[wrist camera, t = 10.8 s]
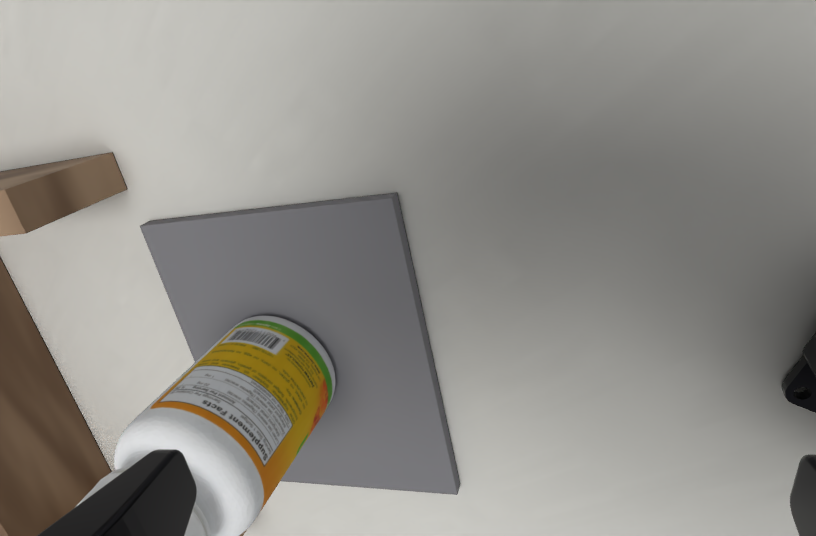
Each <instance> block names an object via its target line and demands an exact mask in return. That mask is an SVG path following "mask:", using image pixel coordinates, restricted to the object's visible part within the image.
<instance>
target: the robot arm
mask: <svg viewBox="0 0 816 536" xmlns="http://www.w3.org/2000/svg"><path fill="white" fill-rule="evenodd" d="M803 353H804V355H803V357H802V358H801V359H800V361H799V362H798V363H797V364H796V366H795V367H794V368H793V369H792V371H791V372H790V373H789V375H788V376H787V377H786V378H785V380H784V381H783V383H782V390H783V392H784V395H785V397H786V398H787V400H788V401H789V402H791V403H793V404H795V405H797V406H800V407H803V408H805V409H808V410H810V411H813V412H816V333H815V334H814V336H813V337H812V338H811V340H810V341H809V342H808V343H807V345H806V346H805V347H804V349H803ZM800 387H806V388H807V389H806V390H805V391H803V392H794V390H796V389H797V388H800ZM196 495H197V488H196V483H195V480H194V478H193V476H192V473H191V471H190V469H189V466H188V464H187V462H186V460H185V457H184V455H183V453H181V452H180V451H179V450H176V449H158V450H154V451H152V452H150V453H149V454H147V455H146V456H144V457H143V458H142V459H140V460H139V461H138V462H136V463H135V464H134V465H132V466H131V467H129V468H128V469H127V470H125V471H124V472H123V473H121V474H120V475H119V476H117V477H116V478H114V479H113V480H112V481H110V482H109V483H108V484H106V485H105V486H104V487H102V488H101V489H100V490H98V491H97V492H95V493H94V494H93V495H91V496H90V497H89V498H87V499H86V500H85V501H83V502H82V503H80V504H79V505H78V506H76V507H75V508H74V509H72V510H71V511H70V512H68V513H67V514H65V515H64V516H63V517H61V518H60V519H59V520H57V521H56V522H55V523H53V524H52V525H50V526H49V527H48V528H46V529H45V530H44V531H42V532H41V533H40V534H38V535H37V536H185V533H186V529H187V526H188V523H189V520H190V517H191V514H192V510H193V507H194V504H195V501H196ZM790 506H791V512H792V515H793V519H794V521H795V524H796V527H797V530H798V533H799V536H816V455H805V456H804V457H803V458H802V459H801V460H800V463H799V466H798V470H797V473H796V477H795V481H794V484H793V488H792V492H791V496H790Z"/></svg>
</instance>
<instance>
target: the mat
mask: <svg viewBox="0 0 816 536" xmlns="http://www.w3.org/2000/svg"><path fill="white" fill-rule="evenodd" d="M140 228H141V230H142V233H143V235H144V238H145V240H146V243H147V245H148V248H149V250H150V252H151V255H152V257H153V260H154V262H155V265H156V267H157V270H158V272H159V275H160V277H161V280H162V282H163V284H164V287H165V289H166V292H167V294H168V297H169V299H170V302H171V304H172V307H173V309H174V311H175V314H176V316H177V319H178V321H179V324H180V326H181V329H182V331H183V334H184V336H185V339H186V341H187V343H188V346H189V348H190V351H191V353H192V356H193V358H194V361H195V362H196V361H197V360H198V359H199V358H200V357H202V356H203V355H204V354H205V353H206V352H207V351H208V350H209V349H210V348H211V347H212V346H213V345H214V344H215V343H216V342H218V341H219V340H220V339H221V338H222V337H223V336H224V335H225V334H226V333H227V332H228V331H229V330H231V329H232V328H233V327H234V326H235V325H237V324H238V323H240V322H241V321H243V320H245V319H248V318H250V317H255V316H275V317H279V318H283V319H286V320H288V321H290V322H293V323H295V324H297V325H298V326H300V327H302V328H303V329H305V330H306V331H307V332H309V333H310V334H311V335H312V336H313V337H314V338H315V339H316V340H317V341H318V342H319V343H320V344H321V345H322V346H323V348H324V349H325V351H326V352H327V354H328V356H329V358H330V360H331V362H332V365H333V368H334V372H335V391H334V395H333V398H332V400H331V402H330V404H329V405H328V407H327V409H326V411H325V412H324V414H323V415H322V417H321V419H320V420H319V422H318V423H317V425H316V426H315V428H314V429H313V431H312V433H311V434H310V436H309V437H308V439H307V440H306V442H305V443H304V445H303V446H302V448H301V449H300V451H299V453H298V454H297V456H296V457H295V459H294V460H293V462H292V463H291V465H290V466H289V468H288V470H287V471H286V473H285V474H284V476H283V477H282V479H281V480H280V481H286V482H299V483H312V484H325V485H338V486H351V487H364V488H377V489H390V490H403V491H416V492H429V493H442V494H455V495H457V494H458V491H459V487H460V482H459V477H458V472H457V468H456V463H455V458H454V454H453V449H452V445H451V440H450V435H449V431H448V426H447V421H446V417H445V412H444V408H443V403H442V398H441V394H440V389H439V385H438V380H437V375H436V371H435V366H434V361H433V357H432V352H431V348H430V343H429V338H428V334H427V329H426V324H425V320H424V315H423V311H422V306H421V301H420V297H419V292H418V288H417V283H416V278H415V274H414V269H413V264H412V260H411V255H410V251H409V246H408V241H407V237H406V232H405V227H404V223H403V218H402V214H401V209H400V204H399V200H398V195H397V193H390V194H382V195H373V196H364V197H356V198H347V199H338V200H329V201H321V202H312V203H303V204H294V205H286V206H277V207H268V208H259V209H251V210H242V211H233V212H224V213H216V214H207V215H198V216H189V217H181V218H172V219H163V220H154V221H149V222H147V223H145V224H143V225H141V226H140Z"/></svg>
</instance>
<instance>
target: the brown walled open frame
mask: <svg viewBox="0 0 816 536" xmlns="http://www.w3.org/2000/svg"><path fill="white" fill-rule="evenodd" d="M124 190H127V188H126V185H125V183H124V180H123V178H122V175H121V173H120V171H119V168H118V166H117V163H116V161H115V158H114V156H113V153H106V154H100V155H94V156H88V157H83V158H77V159H71V160H65V161H59V162H54V163H48V164H42V165H36V166H30V167H24V168H19V169H13V170H7V171H1V172H0V236H7V235H16V234H25V233H28V232H30V231H33V230H35V229H37V228H39V227H42V226H44V225H46V224H49V223H51V222H53V221H55V220H58V219H60V218H62V217H65V216H67V215H69V214H72V213H74V212H76V211H78V210H81V209H83V208H85V207H88V206H90V205H92V204H94V203H97V202H99V201H101V200H104V199H106V198H108V197H111V196H113V195H115V194H117V193H120V192H122V191H124ZM109 473H111V470H110V469H109V467H108V465H107V463H106V461H105V459H104V457H103V455H102V453H101V451H100V449H99V447H98V445H97V444H96V442H95V440H94V438H93V436H92V434H91V432H90V430H89V428H88V426H87V424H86V422H85V420H84V418H83V417H82V415H81V413H80V411H79V409H78V407H77V405H76V403H75V401H74V399H73V397H72V395H71V393H70V392H69V390H68V388H67V386H66V384H65V382H64V380H63V378H62V376H61V374H60V372H59V370H58V368H57V366H56V365H55V363H54V361H53V359H52V357H51V355H50V353H49V351H48V349H47V347H46V345H45V343H44V341H43V340H42V338H41V336H40V334H39V332H38V330H37V328H36V326H35V324H34V322H33V320H32V318H31V316H30V314H29V313H28V311H27V309H26V307H25V305H24V303H23V301H22V299H21V297H20V295H19V293H18V291H17V289H16V287H15V286H14V284H13V282H12V280H11V278H10V276H9V274H8V272H7V270H6V268H5V266H4V264H3V262H2V261H1V259H0V536H37V535H38V534H40V533H41V532H42V531H44V530H45V529H46V528H48V527H49V526H50V525H52V524H53V523H55V522H56V521H57V520H59V519H60V518H61V517H63V516H64V515H65V514H67V513H68V512H70V511H71V510H72V509H74V508H75V507H76V505H77V504H78V503H79V502H80V501H81V500H82V499H83V498H84V497H85V496H86V495H87V494H88V493H89V492H90V491H91V490H92V489H93V488H94V487H95V485H96V484H97V483H98V482H99V481H100V480H101V479H102V478H104V477H105V476H107V475H108V474H109ZM247 529H248V528H247ZM247 529H246V530H247ZM246 530H245V531H244V532H243V533H242V534H240V535H239V536H243V535H244V533H245V532H246Z"/></svg>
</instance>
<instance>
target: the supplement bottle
mask: <svg viewBox="0 0 816 536" xmlns="http://www.w3.org/2000/svg"><path fill="white" fill-rule="evenodd" d="M334 391H335V372H334V368H333V365H332V362H331V360H330V358H329V356H328V354H327V352H326V351H325V349H324V348H323V346H322V345H321V344H320V343H319V342H318V341H317V340H316V339H315V338H314V337H313V336H312V335H311V334H310V333H309V332H307V331H306V330H305V329H303V328H302V327H300V326H298V325H297V324H295V323H293V322H290V321H288V320H286V319H283V318H279V317H275V316H255V317H250V318H248V319H245V320H243V321H241V322H240V323H238V324H237V325H235V326H234V327H233V328H232V329H231V330H229V331H228V332H227V333H226V334H225V335H224V336H223V337H222V338H221V339H220V340H219V341H218V342H216V343H215V344H214V345H213V346H212V347H211V348H210V349H209V350H208V351H207V352H206V353H205V354H204V355H203V356H202V357H200V358H199V359H198V360H197V361H196V362H195V363H194V364H193V365H192V366H191V367H190V368H189V369H188V370H187V371H186V372H184V373H183V374H182V375H181V376H180V377H179V378H178V379H177V380H176V381H175V382H174V383H173V384H172V385H171V386H170V387H168V388H167V389H166V390H165V391H164V392H163V393H162V394H161V395H160V396H159V397H158V398H157V399H156V400H155V401H153V402H152V403H151V404H150V405H149V406H148V407H147V408H146V409H145V410H144V411H143V412H142V413H141V414H140V415H138V416H137V417H136V418H135V419H134V420H133V421H132V422H131V423H130V424H129V425H128V427H127V428H126V429H125V430H124V431H123V433H122V434H121V436H120V438H119V440H118V442H117V446H116V449H115V454H114V467H115V470H114V471H112V472H111V473H109V474H108V475H107V476H105V477H104V478H102V479H101V480H100V481H99V482H98V483H97V484H96V485H95V487H94V488H93V489H92V490H91V491H90V492H89V493H88V494H87V495H86V496H85V497H84V498H83V499H82V500H81V501H80V502H79V503H78V504H77V505H76V506H78V505H79V504H80V503H82V502H83V501H85V500H86V499H87V498H89V497H90V496H91V495H93V494H94V493H95V492H97V491H98V490H100V489H101V488H102V487H104V486H105V485H106V484H108V483H109V482H110V481H112V480H113V479H114V478H116V477H117V476H119V475H120V474H121V473H123V472H124V471H125V470H127V469H128V468H129V467H131V466H132V465H134V464H135V463H136V462H138V461H139V460H140V459H142V458H143V457H144V456H146V455H147V454H149V453H150V452H152V451H154V450H158V449H176V450H179V451H180V452H181V453H183V455H184V457H185V460H186V462H187V464H188V466H189V469H190V471H191V473H192V476H193V478H194V480H195V483H196V488H197V495H196V501H195V504H194V507H193V510H192V514H191V517H190V520H189V523H188V526H187V529H186V533H185V536H239V535H240V534H242V533H243V532H244V531H245V530H246V529H247V528H249V526H250V525H251V524H252V523H253V521H254V520H255V518H256V517H257V516H258V514H259V513H260V511H261V510H262V508H263V507H264V505H265V504H266V502H267V500H268V499H269V497H270V496H271V494H272V493H273V491H274V490H275V488H276V487H277V485H278V483H279V482H280V480H281V479H282V477H283V476H284V474H285V473H286V471H287V470H288V468H289V466H290V465H291V463H292V462H293V460H294V459H295V457H296V456H297V454H298V453H299V451H300V449H301V448H302V446H303V445H304V443H305V442H306V440H307V439H308V437H309V436H310V434H311V433H312V431H313V429H314V428H315V426H316V425H317V423H318V422H319V420H320V419H321V417H322V415H323V414H324V412H325V411H326V409H327V407H328V405H329V404H330V402H331V400H332V398H333V395H334Z"/></svg>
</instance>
